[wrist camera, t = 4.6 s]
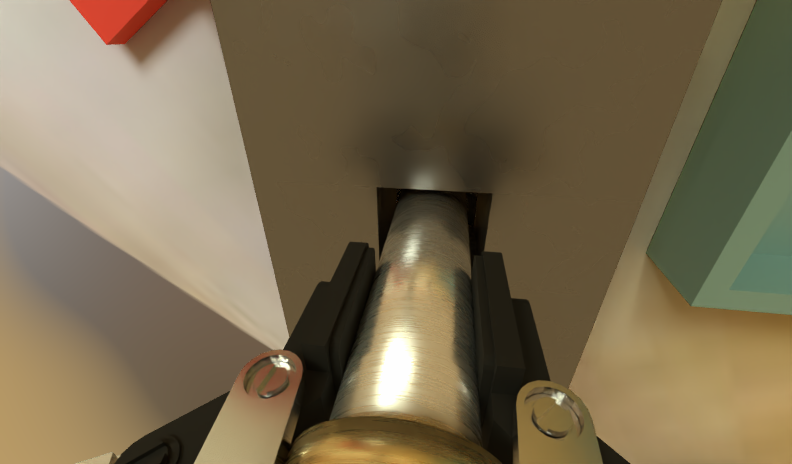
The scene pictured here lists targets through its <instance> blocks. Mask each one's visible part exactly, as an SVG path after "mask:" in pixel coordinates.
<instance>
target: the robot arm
mask: <svg viewBox="0 0 792 464" xmlns="http://www.w3.org/2000/svg"><path fill="white" fill-rule="evenodd" d="M375 274H376V262H375V249H374V248H369V244H368V243H364V242H349V244H348V246H347V248H346V250H345V252H344V254H343V256H342V258H341V260H340V262H339V264H338V266H337V269H336V271H335V273H334V275H333V277H332V279H331V281H330V282H326V281H321V282H319V283H318V285H317V286H316V288H315V290H314V292H313V294H312V296H311V298H310V299H309V301H308V303H307V305H306V307H305V309H304V311H303V313H302V315H301V317H300V319H299V321H298V322H297V324H296V326H295V328H294V330H293V332H292V334H291V336H290V338H289V340H288V342H287V343H286V345H285V347H284V349H283V350H271V351H268V352H265V353H262V354H260V355H258V356H257V357H255V358H253V359H252V360H251V361H250V362H248V363H247V364H246V365H245V366H244V368H243V369H242V370H241V372H240V373H239V375H238V377H237V379H236V381H235V383H234V385H233V387H232V389H231V391H229V392H227V393H225V394H223V395H221V396H220V397H217V398H216V399H214V400H212V401H210V402H208V403H206V404H204V405H203V406H200V407H198V408H197V409H195V410H193V411H191V412H189V413H187V414H185V415H183V416H181V417H179V418H178V419H176V420H174V421H172V422H170V423H168V424H166V425H165V426H162V427H161V428H159V429H157V430H155V431H153V432H151V433H149V434H147V435H145V436H144V437H142V438H141V439H139V440H138V441H136V442H135V443H133V444H132V445H131V446H130V447H129V448H128V449H126V450H125V451H124V452H123V453H122V454H121V455H118V456H116V455H115V454H114V453H113V452H111V453H108V454H105V455H102V456H99V457H95V458H93V459H89V460H85V461H82V462H79V463H76V464H285V461H286V458H287V456H288V453H289V450H290V448H291V445H292V443H293V442H294V440H295V439H296V438H297V437H298V436H299V435H300V434H301V433H302V432H304V431H305V430H307V429H308V428H310V427H312V426H314V425H317V424H319V423H322V422H326V421H329V419H330V416H331V413H332V410H333V406H334V403H335V400H336V397H337V394H338V391H339V387H340V384H341V381H342V378H343V375H344V372H345V369H346V366H347V362H348V359H349V356H350V353H351V350H352V347H353V343H354V340H355V337H356V334H357V331H358V328H359V324H360V321H361V318H362V315H363V312H364V309H365V305H366V302H367V299H368V296H369V293H370V290H371V286H372V283H373V280H374V277H375ZM471 288H472V304H473V320H474V336H475V351H476V367H477V383H478V397H479V402H480V415H481V430H482V446H483V449H485V450H486V451H488V452H489V453H491V454H492V455H493V456H494V457H496V458H497V459H498V460H499V461H500V462H501V463H502V464H630V463H629V462H628V461H626V460H625V459H624V458H623V457H622V456H620V455H619V454H618V453H617V452H615V451H614V450H613V449H612V448H611V447H609V446H608V445H607V444H606V443H605V442H603V441H602V440H601V439H600V438H598V437H597V436H596V433H595V429H594V425H593V421H592V418H591V415H590V413H589V411H588V409H587V407H586V406H585V405H584V403H583V402H582V401H581V399H580V398H579V397H577V396H576V395H575V394H574V393H573V392H572V391H570V390H569V389H567V388H565V387H563V386H562V385H560V384H557V383H554V382H551V380H550V376H549V373H548V369H547V365H546V362H545V358H544V354H543V350H542V347H541V343H540V339H539V335H538V332H537V328H536V324H535V320H534V317H533V313H532V309H531V305H530V303H529V301H528V300H527V299H517V298H511V295H510V290H509V285H508V280H507V275H506V270H505V266H504V261H503V256H502V253H501V252H488V251H482V253H481V256H476V255H475V256H474V261H473V269H472V276H471Z"/></svg>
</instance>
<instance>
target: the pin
mask: <svg viewBox="0 0 792 464" xmlns="http://www.w3.org/2000/svg"><path fill="white" fill-rule="evenodd" d="M285 464H502V463H501V462H500V461H499V460H498V459H497V458H496V457H494V456H493V455H492V454H491V453H489V452H488V451H486V450H485V449H483V446H482V430H481V415H480V402H479V397H478V383H477V367H476V351H475V336H474V320H473V304H472V288H471V263H470V248H469V233H468V218H467V203H466V192H460V191H441V190H422V189H403V188H402V191H401V194H400V197H399V201H398V204H397V207H396V210H395V213H394V216H393V220H392V223H391V226H390V229H389V232H388V235H387V239H386V242H385V245H384V248H383V251H382V254H381V258H380V261H379V264H378V267H377V270H376V274H375V277H374V280H373V283H372V286H371V290H370V293H369V296H368V299H367V302H366V305H365V309H364V312H363V315H362V318H361V321H360V324H359V328H358V331H357V334H356V337H355V340H354V343H353V347H352V350H351V353H350V356H349V359H348V362H347V366H346V369H345V372H344V375H343V378H342V381H341V384H340V387H339V391H338V394H337V397H336V400H335V403H334V406H333V410H332V413H331V416H330V419H329V421H326V422H322V423H319V424H317V425H314V426H312V427H310V428H308V429H307V430H305V431H304V432H302V433H301V434H300V435H299V436H298V437H297V438H296V439H295V440H294V442H293V443H292V445H291V448H290V450H289V453H288V456H287V458H286V461H285Z"/></svg>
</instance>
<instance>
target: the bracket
mask: <svg viewBox="0 0 792 464" xmlns="http://www.w3.org/2000/svg"><path fill="white" fill-rule="evenodd" d="M70 1H71V3H72V4H73V5H74V6H75V7H76V9H77V10H78V11H79V12H80V13H81V15H82V16H83V17H84V18H85V19H86V21H87V22H88V23H89V24H90V25H91V27H92V28H93V29H94V30H95V31H96V33H97V34H98V35H99V36H100V37H101V39H102V40H103V41H104V42H105V43H106V45H111V44H125V43H126V42H127V41H128V40H129V39H130V38H131V37H132V36H133V35H134V34H135V33H136V32H137V31H138V30H139V29H140V28H141V27H142V26H143V25H144V24H145V23H146V22H147V21H148V20H149V19H150V18H151V17H152V16H153V15H154V14H155V13H156V12H157V11H158V10H159V9H160V8H161V7H162V6H163V4H164V3H165V2H166V1H167V0H70Z"/></svg>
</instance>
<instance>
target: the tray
mask: <svg viewBox="0 0 792 464" xmlns="http://www.w3.org/2000/svg"><path fill="white" fill-rule="evenodd" d="M646 254H647V255H648V256H649V257H650V258H651V260H652V261H653V262H654V263H655V264H656V265H657V267H658V268H659V269H660V270H661V271H662V273H663V274H664V275H665V276H666V277H667V278H668V280H669V281H670V282H671V283H672V284H673V286H674V287H675V288H676V289H677V290H678V292H679V293H680V294H681V295H682V296H683V297H684V299H685V300H686V301H687V302H688V303H689V305H690V306H695V307H707V308H718V309H729V310H741V311H752V312H763V313H775V314H786V315H792V0H757V2H756V4H755V6H754V9H753V11H752V13H751V15H750V18H749V20H748V22H747V25H746V27H745V29H744V31H743V34H742V36H741V38H740V40H739V43H738V45H737V47H736V50H735V52H734V54H733V56H732V59H731V61H730V63H729V66H728V68H727V70H726V72H725V75H724V77H723V79H722V81H721V84H720V86H719V88H718V91H717V93H716V95H715V97H714V100H713V102H712V104H711V106H710V109H709V111H708V113H707V116H706V118H705V120H704V122H703V125H702V127H701V129H700V131H699V134H698V136H697V138H696V141H695V143H694V145H693V147H692V150H691V152H690V154H689V157H688V159H687V161H686V163H685V166H684V168H683V170H682V172H681V175H680V177H679V179H678V182H677V184H676V186H675V188H674V191H673V193H672V195H671V197H670V200H669V202H668V204H667V207H666V209H665V211H664V213H663V216H662V218H661V220H660V222H659V225H658V227H657V229H656V232H655V234H654V236H653V238H652V241H651V243H650V245H649V248H648V250H647V252H646Z"/></svg>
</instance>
